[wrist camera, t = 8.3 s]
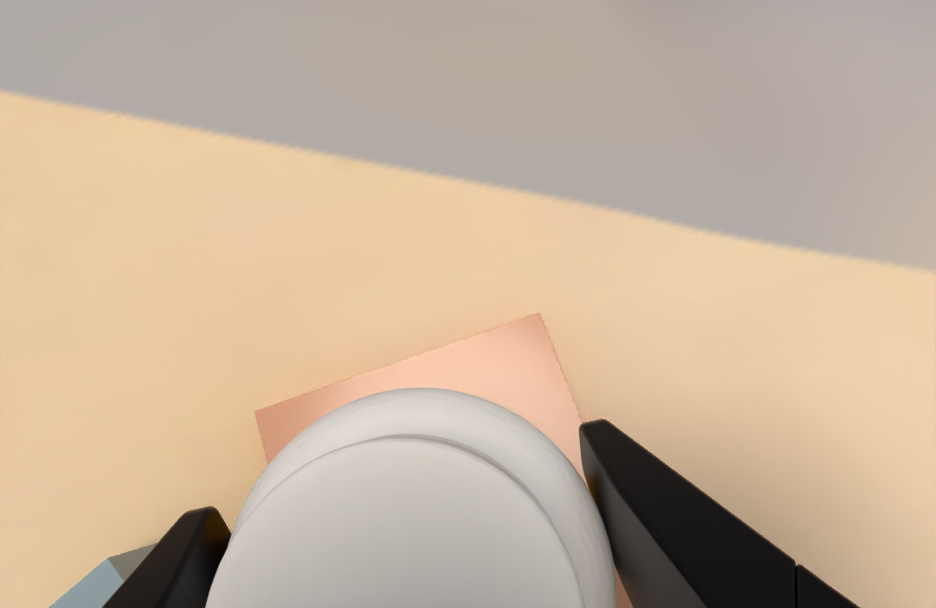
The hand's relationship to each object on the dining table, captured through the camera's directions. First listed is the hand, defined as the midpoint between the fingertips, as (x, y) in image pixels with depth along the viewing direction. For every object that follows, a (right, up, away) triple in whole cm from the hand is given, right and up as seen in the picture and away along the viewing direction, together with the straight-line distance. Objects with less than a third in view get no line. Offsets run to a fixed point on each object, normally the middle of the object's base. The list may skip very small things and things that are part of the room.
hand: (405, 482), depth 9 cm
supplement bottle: (0, -3, +7) cm, 8 cm away
